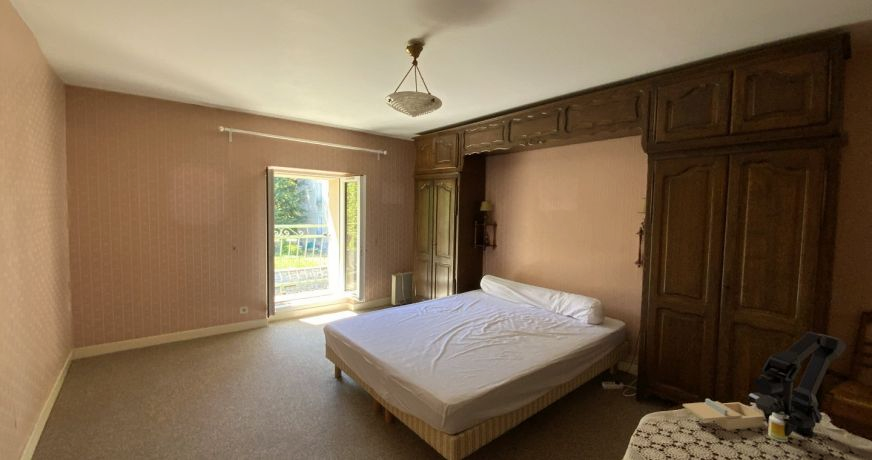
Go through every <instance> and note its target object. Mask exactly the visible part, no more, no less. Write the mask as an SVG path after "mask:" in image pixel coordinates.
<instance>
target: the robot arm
mask: <svg viewBox="0 0 872 460" xmlns="http://www.w3.org/2000/svg"><path fill="white" fill-rule="evenodd" d="M846 347H847V344H846V343H844V341H843V340H842V339H841V338H838V337H835V336H830V335H826V334H822V333H816V332H812V331H806V332H805V333H804V334H803V336H802V338H800V339H799V340H798V341H796V342H795V343H794V344H792V345H791V346H790V347H789V348H788V349H786V350H784V351H777V352H775V353H774V354H772V355H771V356H769V358H767V360H766V362H765V363H764V366H763V368H762V369H761V372H762V373H763V374H760V377H758V378H755V379H754V381H753V387H754V389H755V391H756V392H751V393H749V394H748V400H749V401H750V402H752V403H754V404H755V405H756V408H757V409H758V410H760V411H762V413H763V416H764V419H765V421H766V423H767V426H768V425H769V416H770V415H772V413H773V412H774V413H776V414H778V413H780V412H782V413H783V414H785V415H787V419H783V421H784V422H785V436H788V437H789V436H790V435H791V434H792V433H793V432H794V433H796V434H798V435H799V436H801V437H803V438H808V437H818V436H819V434H818V433H817V432H815V431H814V430H815V429H814V428H816V424H820V423H821V421H822V419H823V415H822V413H821V412H820V411H819V409H818V407H819V403H818V400H817V397H816V395H817V392H818V390H819V387H820V385H821V384H822V382H823V379H824V377H825V375H826V372H827V370H828V368H829V365H830V364H831V362H832V361H834V360H836V359H838V358H840V357H841V356H842V353H843V352H845V351H846ZM811 354H812V355H811ZM810 355H811V358H810V359H809V361H808V364H807V366H806V369H805V370H804V373H803V375H802V376H801V380H800V383H799V384H798V386H797V387H796V388H794V389H793V386H794V384H793V383H794V380H796V379H797V375H798V374H799V372H800V370H801V367H802V366H801V363H802V362H803V361H804V360H805V359H807V358H808V357H809V356H810Z"/></svg>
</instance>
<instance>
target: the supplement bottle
mask: <svg viewBox="0 0 872 460" xmlns="http://www.w3.org/2000/svg"><path fill="white" fill-rule="evenodd" d="M783 419H788V416H787V415H785V414H783V413H782V412H780V413H778V414H776V413H774V412H773V413H772V415H770V416H769V425H768V424H767V426H768V427H767V434H768V436H769V437H770V438H771V439H773V440H774V441H775V440H776V442H780V443H781V442H783V443H786V442H788V441H789V436H785V422H784V421H783Z"/></svg>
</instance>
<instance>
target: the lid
mask: <svg viewBox="0 0 872 460" xmlns="http://www.w3.org/2000/svg"><path fill="white" fill-rule="evenodd" d="M682 407H684V408H685V409H686V410H688V411H689V412H691V413H692V414H693V415H695V416H697V417H698V418H699V419H701V420H702V421H712V420H717V419H729V418H741V416H742V415H740V414H738V413H737V412H735V411H733V410H732V409H730V408H728V407H726V406H725V405H723V403H721V402H719V401H713V400H711V399H710V398H705V401H704V402H692V403H691V402H690V403H682Z"/></svg>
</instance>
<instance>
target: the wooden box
mask: <svg viewBox="0 0 872 460" xmlns="http://www.w3.org/2000/svg"><path fill="white" fill-rule="evenodd" d="M722 404H723V405H725V406H726V407H728V408H730V409H732V410H733V411H735V412H737V413H738V414H740V415H742V416H741V418H729V419H717V420H713V421H715V422H716V423H717V424H716V423H715V422H714V423H715V424H716V425H718V424H719V425H720V426H719V425H718V426H719V427H721V426H722V427H723V430H725V429H726V430H725V431H727V430H729V431H736V430H735V429H740V430H748V429H747V428H752V429H757V428H756V427H763V428H764V423H765V422H764V421H765V415H764V414H763V415H762V414H761V413H759V412H757V411H755V410H753V409H752V408H750V407H748V406H746V405H744V404H743V403H741V402H740V401H738V402H736V401H735V402H727V403H726V402H725V403H722ZM713 421H712V422H713ZM722 427H721V428H722Z"/></svg>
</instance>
